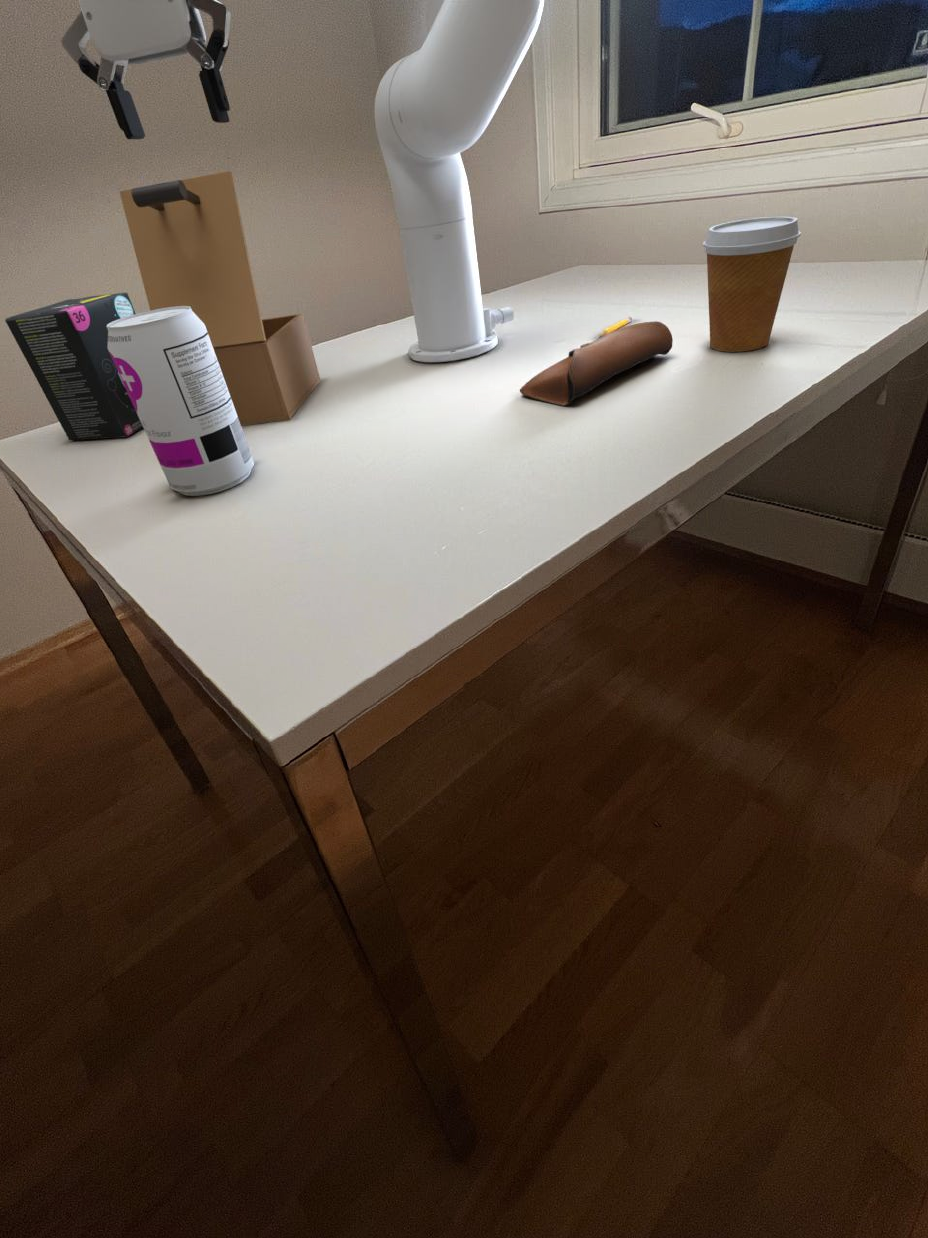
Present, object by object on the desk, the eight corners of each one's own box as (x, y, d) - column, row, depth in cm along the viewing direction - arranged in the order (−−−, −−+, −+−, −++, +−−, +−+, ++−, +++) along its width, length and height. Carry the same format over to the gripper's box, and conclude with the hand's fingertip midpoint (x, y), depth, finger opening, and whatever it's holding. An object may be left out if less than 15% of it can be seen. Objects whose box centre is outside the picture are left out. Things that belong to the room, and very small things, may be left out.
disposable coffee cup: (678, 346, 76) (684, 231, 69) (742, 328, 78) (754, 214, 71) (735, 361, 69) (749, 234, 61) (804, 341, 71) (825, 215, 64)
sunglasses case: (611, 346, 78) (636, 296, 72) (653, 381, 76) (682, 332, 71) (513, 392, 69) (533, 339, 64) (558, 433, 67) (582, 382, 62)
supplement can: (175, 507, 58) (96, 334, 49) (171, 477, 64) (101, 320, 56) (262, 482, 60) (201, 311, 51) (250, 455, 66) (194, 300, 58)
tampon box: (128, 438, 78) (67, 309, 69) (67, 442, 80) (0, 318, 71) (177, 407, 86) (128, 289, 78) (120, 412, 89) (67, 297, 80)
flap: (121, 192, 66) (91, 177, 61) (231, 172, 64) (208, 156, 60) (164, 354, 71) (138, 353, 67) (266, 340, 70) (247, 337, 65)
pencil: (632, 322, 89) (632, 316, 88) (601, 339, 84) (601, 333, 83) (627, 322, 89) (627, 316, 89) (596, 339, 84) (595, 333, 84)
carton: (237, 391, 88) (214, 326, 83) (321, 380, 87) (302, 313, 82) (193, 431, 76) (163, 357, 71) (290, 419, 75) (266, 343, 69)
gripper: (207, -119, 58) (267, 116, 68) (38, -78, 60) (121, 144, 70) (172, -149, 52) (244, 114, 62) (-14, -102, 54) (84, 145, 64)
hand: (178, 130), depth 66 cm, fingers open, 9 cm apart
